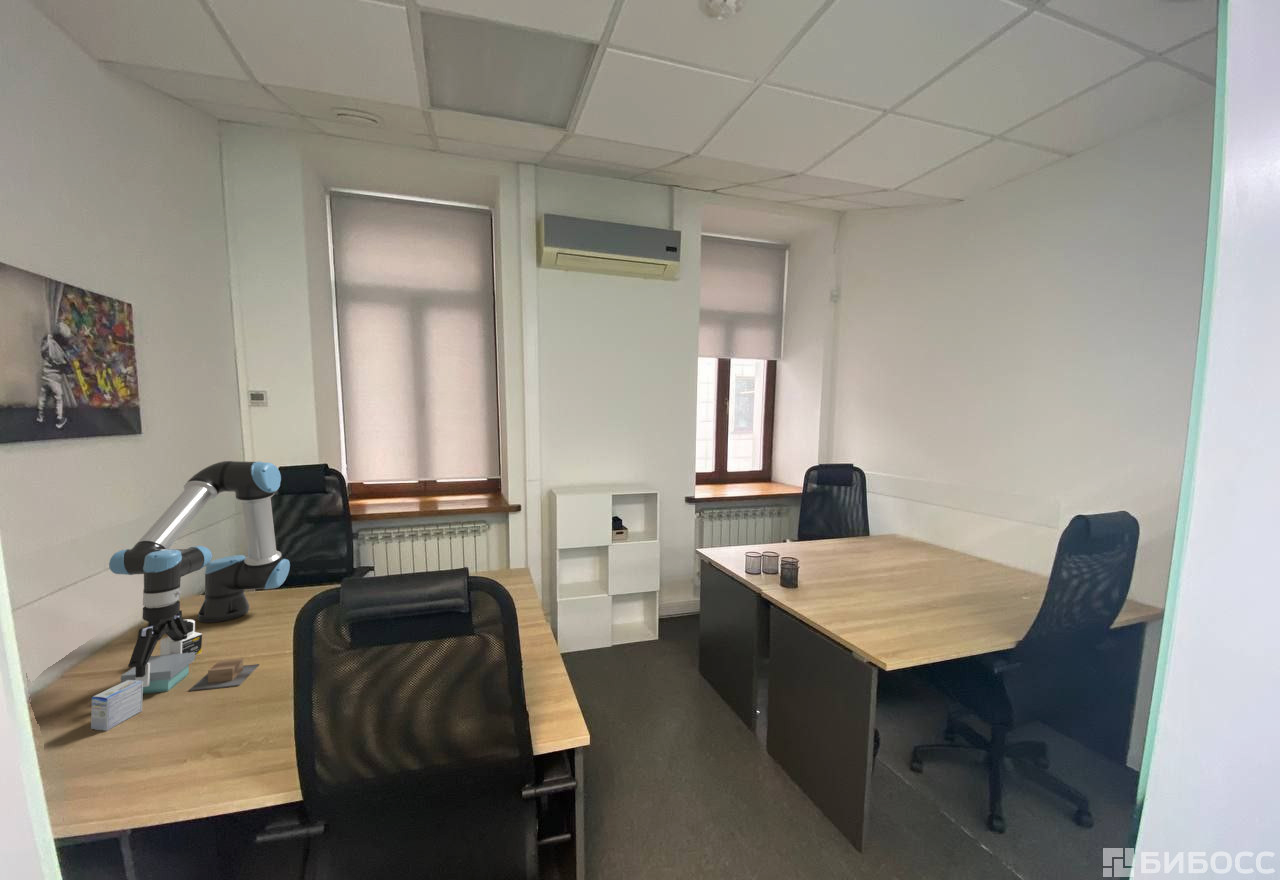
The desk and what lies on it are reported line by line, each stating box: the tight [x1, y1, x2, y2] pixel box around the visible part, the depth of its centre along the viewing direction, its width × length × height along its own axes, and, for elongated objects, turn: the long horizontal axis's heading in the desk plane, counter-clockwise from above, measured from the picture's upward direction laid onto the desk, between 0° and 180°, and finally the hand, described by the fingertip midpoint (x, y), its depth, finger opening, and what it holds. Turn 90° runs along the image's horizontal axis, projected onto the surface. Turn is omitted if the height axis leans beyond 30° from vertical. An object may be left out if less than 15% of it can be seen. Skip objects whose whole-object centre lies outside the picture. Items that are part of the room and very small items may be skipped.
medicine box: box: [90, 680, 143, 732], centre depth 116 cm, size 8×4×9 cm, turn 178°
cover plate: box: [120, 652, 196, 683], centre depth 131 cm, size 11×11×2 cm
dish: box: [143, 664, 190, 694], centre depth 131 cm, size 9×9×4 cm
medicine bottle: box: [159, 618, 203, 657], centre depth 146 cm, size 7×7×12 cm
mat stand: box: [188, 658, 260, 692], centre depth 136 cm, size 12×12×4 cm
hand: (159, 673), depth 131 cm, fingers open, 13 cm apart
